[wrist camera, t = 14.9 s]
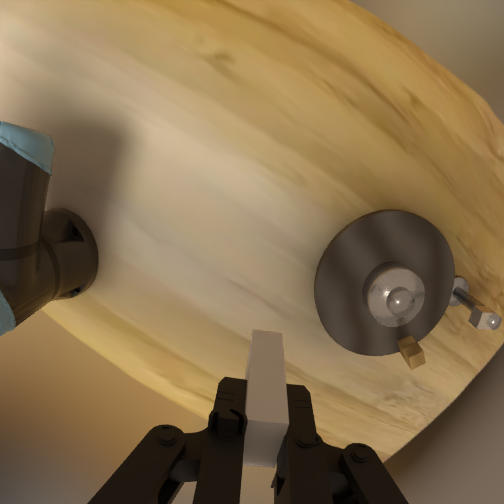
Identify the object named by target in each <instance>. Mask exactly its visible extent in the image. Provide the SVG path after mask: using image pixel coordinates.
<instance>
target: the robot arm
mask: <svg viewBox="0 0 504 504" xmlns="http://www.w3.org/2000/svg"><path fill="white" fill-rule="evenodd" d="M54 149H55V145H54V141H53V139H52V138H51V137H50V136H49V135H48V134H45V133H42V132H39V131H35V130H32V129H28V128H25V127H21V126H18V125H14V124H10V123H7V122H3V121H0V336H1V335H3V334H5V333H6V332H8V331H11V330H13V329H14V328H15V327H16V326H18V325H19V324H20V323H21V322H23V321H24V320H26V319H27V318H28V317H30V316H31V315H32V314H34V313H35V312H36V311H38V310H39V309H40V308H42V307H43V306H44V305H46V304H47V303H48V302H50V301H53V300H62V299H69V298H73V297H75V296H77V295H79V294H80V293H82V292H83V291H85V290H86V289H87V288H88V287H89V286H90V285H91V283H92V282H93V280H94V278H95V275H96V272H97V267H98V253H97V247H96V243H95V240H94V238H93V235H92V233H91V231H90V229H89V228H88V226H87V225H86V223H85V222H84V221H83V220H82V219H81V218H80V217H79V216H78V215H76V214H75V213H73V212H71V211H69V210H66V209H60V208H57V209H52V210H48V211H45V212H44V209H45V202H46V196H47V190H48V184H49V179H50V175H52V171H51V166H52V160H53V155H54ZM276 462H277V471H276V474H275V477H274V479H273V482H272V485H271V488H274V504H409V503H408V502H407V500H406V499H405V497H404V496H403V494H402V493H401V491H400V490H399V488H398V486H397V485H396V483H395V482H394V481H393V479H392V477H391V476H390V474H389V473H388V471H387V470H386V468H385V466H384V465H383V463H382V462H381V460H380V459H379V457H378V455H377V454H376V452H375V451H374V450H373V449H372V448H371V447H369V446H367V445H366V444H361V443H353V444H350V445H348V446H347V447H346V448H345V449H341V448H338V447H334V446H331V445H328V444H326V443H325V442H323V440H322V438H321V437H320V436H319V435H318V434H317V432H316V426H315V420H314V414H313V409H312V403H311V396H310V392H309V391H308V390H307V389H306V387H305V386H304V385H293V384H286V376H285V363H284V351H283V340H282V333H276V332H268V331H261V330H254V329H253V331H252V337H251V343H250V349H249V355H248V361H247V367H246V374H245V380H244V379H237V378H230V377H224V378H223V379H222V380H221V381H220V382H219V384H218V389H217V394H216V399H215V403H214V408H213V410H212V411H211V413H210V415H209V421H208V427H207V428H206V429H204V430H202V431H200V432H196V433H183V432H182V431H181V429H179V428H177V427H175V426H172V425H159V426H156V427H154V428H152V429H151V430H150V431H149V433H148V434H147V435H146V436H145V437H144V438H143V440H142V441H141V442H140V443H139V444H138V445H137V447H136V448H135V449H134V450H133V451H132V452H131V454H130V455H129V456H128V457H127V459H126V460H125V461H124V462H123V463H122V464H121V465H120V467H119V468H118V469H117V470H116V471H115V472H114V474H113V475H112V476H111V477H110V479H108V481H107V482H106V483H105V484H104V485H103V487H102V488H101V489H100V490H99V491H98V492H97V493H96V494H95V496H94V497H93V498H92V499H91V500H90V501H89V502H88V504H171V503H172V502H173V500H174V498H175V497H176V495H177V494H178V492H179V490H180V489H181V487H182V485H183V484H184V482H191V481H192V482H193V481H197V484H196V489H195V494H194V499H193V504H239V502H240V490H241V478H242V466H243V465H250V466H260V467H272V468H274V467H275V465H276Z"/></svg>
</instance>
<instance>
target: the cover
mask: <svg viewBox="0 0 504 504" xmlns="http://www.w3.org/2000/svg"><path fill="white" fill-rule="evenodd" d="M362 295H363V300H364V303H365V305H366V306H367V308H368V309H369V311H370V312H371V314H372V315H373V317H374V318H375V320H376V321H377V322H378V323H380V324H382V325H384V326H387V327H398V326H401V325H404V324H406V323H408V322H409V321H411V320H412V319H413V318H414V317H415V316H416V315H417V314H418V312H419V311H420V309H421V307H422V305H423V302H424V298H425V289H424V285H423V282H422V281H421V279H420V278H419V277H418V276H417V275H416V274H415V273H414V272H412V271H411V270H410V269H408V268H407V267H406V266H405V265H403V264H401V263H398V262H386V263H382V264H380V265H378V266H377V267H375V268H374V269H373V270H372V271H371V272H370V273H369V274H368V276H367V277H366V279H365V282H364V284H363V290H362Z"/></svg>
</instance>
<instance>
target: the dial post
mask: <svg viewBox="0 0 504 504" xmlns="http://www.w3.org/2000/svg"><path fill="white" fill-rule="evenodd" d="M468 290H469V286H468V283H467V281H466V280H465V279H464V278H462V277H460V276H456V277H455V279H454V287H453V292H452V296H451V299H450V302H449V305H450V306H457V305H459V304H461V303H462V304H463V305H464V306H465V307H466V308H468V309H469V310H470V311H471V312H472V313H471V316H470V319H469V322H470V323H471V324H472V325H473V326H474V327H475V328H477V329H493V330H496V329H497V328H498V327H499V326H500V324H501V317H499V316H498V315H497V313H496V312H494V311H493V310H492V309H491V308H489V307H486V306H485V305H484V304H483V303H481V302H480V301H479V300H477V299H476V298H474V297H473V296H472V295H470V294H469V293H468Z"/></svg>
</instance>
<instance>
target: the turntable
mask: <svg viewBox="0 0 504 504" xmlns="http://www.w3.org/2000/svg"><path fill="white" fill-rule="evenodd" d="M386 262H398V263H401V264H403V265H405V266H406V267H407V268H408V269H410V270H411V271H412V272H414V273H415V274H416V275H417V276H418V277H419V278H420V279H421V281H422V282H423V285H424V289H425V298H424V302H423V305H422V307H421V309H420V311H419V312H418V314H417V315H416V316H415V317H414V318H413V319H412V320H411V321H409V322H408V323H406V324H404V325H401V326H398V327H387V326H384V325H382V324H380V323H378V322H377V321H376V320H375V318H374V317H373V315H372V314H371V312H370V311H369V309H368V308H367V306H366V305H365V303H364V300H363V295H362V290H363V284H364V282H365V279H366V277H367V276H368V274H369V273H370V272H371V271H372V270H373V269H374V268H375V267H377V266H378V265H380V264H382V263H386ZM454 279H455V268H454V261H453V256H452V253H451V250H450V248H449V245H448V243H447V241H446V240H445V238H444V236H443V235H442V234H441V233H440V231H439V230H438V229H437V228H436V227H435V226H433V225H432V224H431V223H430V222H428V221H427V220H425V219H423V218H421V217H419V216H416V215H414V214H411V213H408V212H404V211H397V210H384V211H378V212H373V213H370V214H367V215H365V216H362V217H360V218H358V219H356V220H355V221H353V222H352V223H350V224H349V225H347V226H346V227H345V228H344V229H342V230H341V231H340V232H339V233H338V234H337V235H336V236H335V238H334V239H333V240H332V241H331V242H330V244H329V245H328V247H327V248H326V250H325V252H324V254H323V256H322V258H321V260H320V262H319V265H318V268H317V272H316V276H315V283H314V298H315V303H316V308H317V311H318V314H319V317H320V320H321V322H322V324H323V326H324V328H325V330H326V331H327V333H328V334H329V335H330V337H331V338H332V339H333V340H334V341H335V342H337V343H338V344H339V345H341V346H342V347H344V348H345V349H347V350H349V351H352V352H354V353H357V354H362V355H367V356H383V355H389V354H393V353H397V352H400V353H401V354H402V356H403V357H404V359H405V361H406V362H407V364H408V365H409V367H410V369H411V370H412V369H414V368H416V367H418V366H420V365H422V364H424V363H425V357H424V352H423V350H422V348H421V347H420V346H419V344H418V343H417V342H418V341H420V340H421V339H423V338H424V337H425V336H426V335H427V334H428V333H429V332H430V331H431V330H432V329H433V328H434V327H435V326H436V324H437V323H438V322H439V320H440V319H441V317H442V316H443V314H444V312H445V311H446V308H447V306H448V304H449V302H450V299H451V296H452V292H453V287H454Z"/></svg>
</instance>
